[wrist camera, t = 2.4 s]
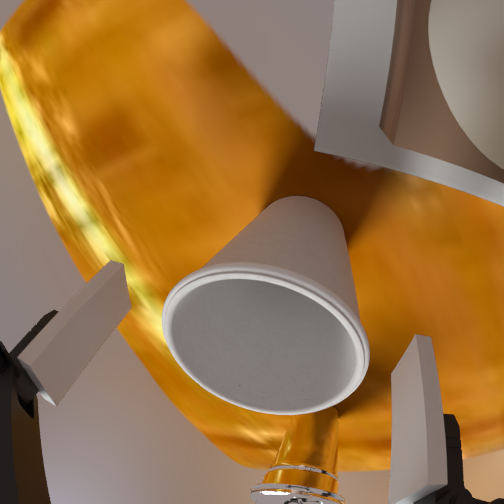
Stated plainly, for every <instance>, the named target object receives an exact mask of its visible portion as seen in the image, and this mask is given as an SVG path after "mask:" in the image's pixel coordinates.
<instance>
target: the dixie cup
mask: <svg viewBox="0 0 504 504" xmlns="http://www.w3.org/2000/svg"><path fill="white" fill-rule="evenodd" d="M162 328H163V333H164V337H165V340H166V343H167V345H168V347H169V349H170V351H171V353H172V355H173V356H174V358H175V360H176V361H177V362H178V364H179V365H180V366H181V368H182V369H183V370H184V371H185V372H186V373H187V374H188V375H189V376H190V377H191V378H192V379H193V380H194V381H195V382H197V383H198V384H199V385H200V386H202V387H203V388H205V389H206V390H208V391H209V392H211V393H212V394H214V395H216V396H217V397H219V398H221V399H223V400H225V401H227V402H230V403H232V404H234V405H237V406H240V407H243V408H246V409H249V410H253V411H257V412H262V413H268V414H277V415H298V414H306V413H312V412H316V411H320V410H323V409H326V408H328V407H330V406H333V405H335V404H337V403H339V402H341V401H342V400H344V399H345V398H347V397H348V396H349V395H350V394H352V393H353V392H354V391H355V390H356V389H357V387H358V386H359V385H360V383H361V382H362V380H363V379H364V377H365V375H366V372H367V369H368V366H369V360H370V348H369V342H368V338H367V335H366V332H365V330H364V328H363V326H362V324H361V322H360V317H359V310H358V304H357V298H356V292H355V286H354V281H353V275H352V270H351V265H350V259H349V254H348V249H347V244H346V240H345V235H344V230H343V226H342V224H341V222H340V220H339V218H338V217H337V215H336V214H335V213H334V212H333V211H332V210H331V209H330V208H329V207H328V206H327V205H325V204H324V203H322V202H320V201H318V200H316V199H313V198H310V197H305V196H289V197H285V198H281V199H279V200H277V201H275V202H273V203H272V204H270V205H269V206H268V207H267V208H266V209H264V210H263V211H262V212H261V213H260V214H259V215H258V216H257V217H256V218H255V219H254V220H253V221H252V222H251V223H249V224H248V225H247V226H246V227H245V228H244V229H243V230H242V231H241V232H240V233H239V234H238V235H237V236H235V237H234V238H233V239H232V240H231V241H230V242H229V243H228V244H227V245H226V246H225V247H224V248H223V249H222V250H220V251H219V252H218V253H217V254H216V255H215V256H214V257H213V258H212V259H211V260H210V261H209V262H208V263H207V264H206V265H205V266H203V267H202V268H201V269H199V270H197V271H195V272H193V273H191V274H189V275H187V276H186V277H184V278H183V279H182V280H181V281H179V282H178V283H177V284H176V285H175V286H174V288H173V289H172V290H171V291H170V293H169V295H168V296H167V298H166V301H165V303H164V307H163V311H162Z"/></svg>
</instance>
